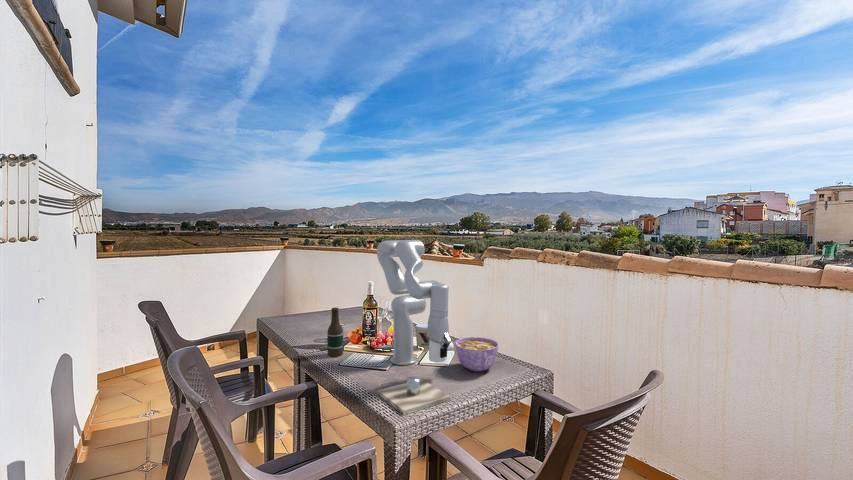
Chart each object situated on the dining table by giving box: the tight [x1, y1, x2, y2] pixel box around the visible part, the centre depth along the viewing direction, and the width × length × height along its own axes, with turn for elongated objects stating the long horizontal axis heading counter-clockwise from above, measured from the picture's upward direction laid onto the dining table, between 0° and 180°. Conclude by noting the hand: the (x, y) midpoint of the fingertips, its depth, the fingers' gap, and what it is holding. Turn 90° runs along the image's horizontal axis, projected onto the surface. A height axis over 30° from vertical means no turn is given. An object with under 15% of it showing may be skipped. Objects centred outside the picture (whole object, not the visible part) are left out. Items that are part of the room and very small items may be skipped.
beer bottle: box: [326, 307, 344, 358], centre depth 193 cm, size 8×8×24 cm
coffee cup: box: [415, 322, 429, 351], centre depth 205 cm, size 9×9×12 cm
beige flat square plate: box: [377, 375, 451, 413], centre depth 145 cm, size 20×20×7 cm
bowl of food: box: [455, 336, 500, 373], centre depth 175 cm, size 20×20×12 cm
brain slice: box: [367, 341, 394, 350], centre depth 205 cm, size 20×17×3 cm
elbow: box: [428, 339, 455, 363], centre depth 163 cm, size 7×11×8 cm
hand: (437, 353), depth 162 cm, fingers closed on elbow, 7 cm apart
